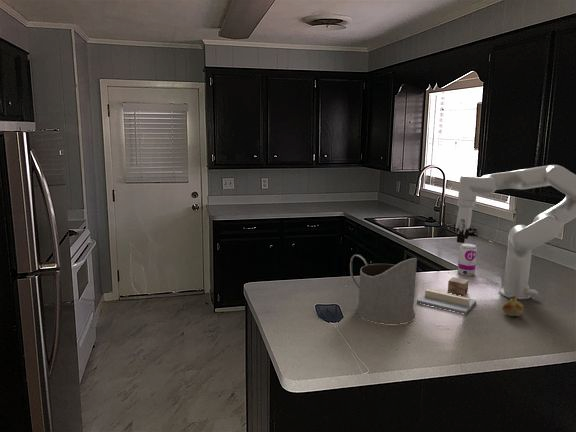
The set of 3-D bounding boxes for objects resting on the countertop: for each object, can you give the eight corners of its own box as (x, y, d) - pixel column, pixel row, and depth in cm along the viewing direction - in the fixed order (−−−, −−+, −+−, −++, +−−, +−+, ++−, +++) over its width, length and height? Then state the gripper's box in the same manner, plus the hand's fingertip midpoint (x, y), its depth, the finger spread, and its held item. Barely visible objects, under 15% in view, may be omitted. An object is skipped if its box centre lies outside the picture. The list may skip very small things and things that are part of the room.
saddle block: (467, 292, 213) (468, 280, 212) (463, 296, 208) (464, 283, 207) (451, 289, 217) (452, 277, 216) (447, 293, 212) (448, 280, 211)
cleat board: (475, 303, 200) (476, 294, 200) (465, 315, 188) (466, 305, 187) (429, 293, 212) (430, 284, 211) (416, 303, 199) (417, 294, 198)
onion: (496, 313, 190) (498, 294, 188) (512, 311, 193) (514, 292, 191) (511, 320, 183) (514, 301, 181) (527, 318, 186) (529, 298, 184)
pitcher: (388, 331, 172) (392, 264, 167) (329, 304, 196) (331, 245, 191) (427, 316, 186) (432, 254, 181) (367, 293, 210) (370, 238, 205)
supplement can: (477, 276, 237) (480, 247, 234) (460, 276, 237) (463, 246, 234) (471, 271, 245) (474, 243, 242) (455, 271, 245) (457, 242, 242)
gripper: (461, 199, 221) (457, 235, 224) (454, 204, 206) (450, 243, 209) (478, 201, 217) (474, 237, 221) (472, 206, 203) (467, 245, 206)
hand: (462, 240), depth 215 cm, fingers open, 9 cm apart
